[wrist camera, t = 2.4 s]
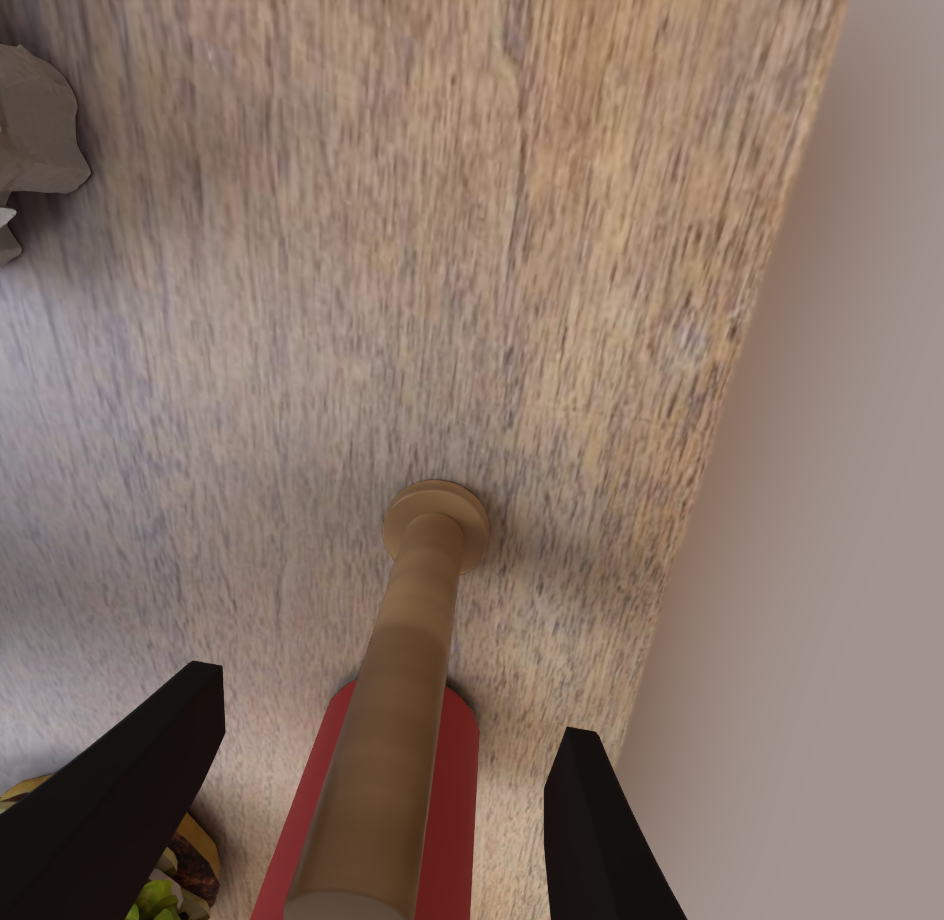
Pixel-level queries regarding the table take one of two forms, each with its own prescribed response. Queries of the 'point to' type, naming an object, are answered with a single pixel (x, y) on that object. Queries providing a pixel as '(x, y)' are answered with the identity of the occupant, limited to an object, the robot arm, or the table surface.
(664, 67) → the table surface
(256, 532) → the table surface
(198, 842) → the food
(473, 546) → the wooden pestle
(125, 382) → the table surface
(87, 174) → the egg carton
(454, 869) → the beer can
